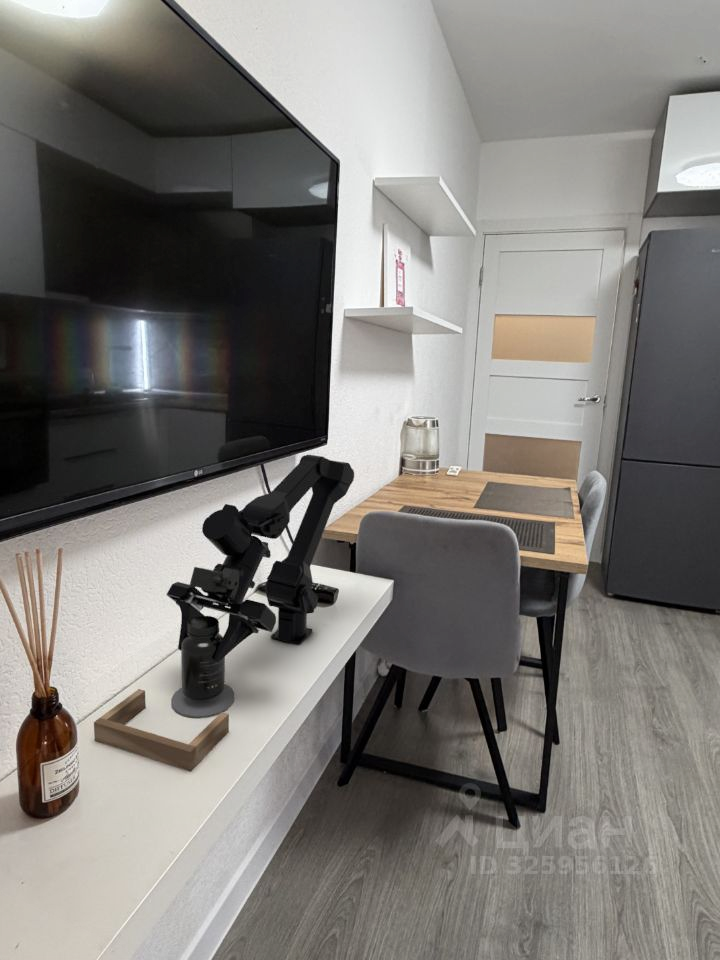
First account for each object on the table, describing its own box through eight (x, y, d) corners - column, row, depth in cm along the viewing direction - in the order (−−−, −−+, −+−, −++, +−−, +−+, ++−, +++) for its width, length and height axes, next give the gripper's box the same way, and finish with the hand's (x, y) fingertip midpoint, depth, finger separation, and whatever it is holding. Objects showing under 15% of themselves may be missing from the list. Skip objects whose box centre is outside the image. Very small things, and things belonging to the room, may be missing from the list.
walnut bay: (139, 705, 95) (138, 688, 94) (228, 731, 90) (228, 713, 89) (94, 740, 86) (93, 722, 86) (190, 771, 81) (190, 751, 80)
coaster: (195, 678, 104) (195, 675, 104) (246, 691, 100) (246, 688, 100) (158, 709, 94) (158, 706, 94) (212, 724, 91) (212, 721, 91)
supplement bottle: (174, 687, 97) (173, 618, 95) (213, 675, 102) (213, 609, 100) (192, 706, 92) (192, 634, 90) (232, 693, 97) (233, 624, 94)
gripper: (172, 536, 99) (124, 623, 92) (266, 556, 92) (222, 653, 84) (204, 566, 108) (162, 648, 101) (292, 586, 101) (254, 676, 93)
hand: (197, 655), depth 95 cm, fingers closed on supplement bottle, 7 cm apart
